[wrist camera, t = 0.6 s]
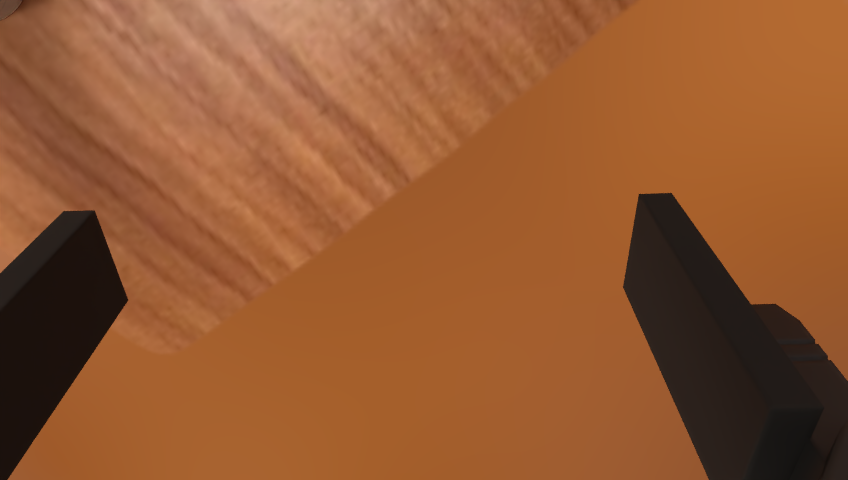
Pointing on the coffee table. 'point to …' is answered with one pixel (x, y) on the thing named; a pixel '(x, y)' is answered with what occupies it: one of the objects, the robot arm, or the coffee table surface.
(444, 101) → the coffee table surface
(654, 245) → the robot arm
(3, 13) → the thermos bottle
